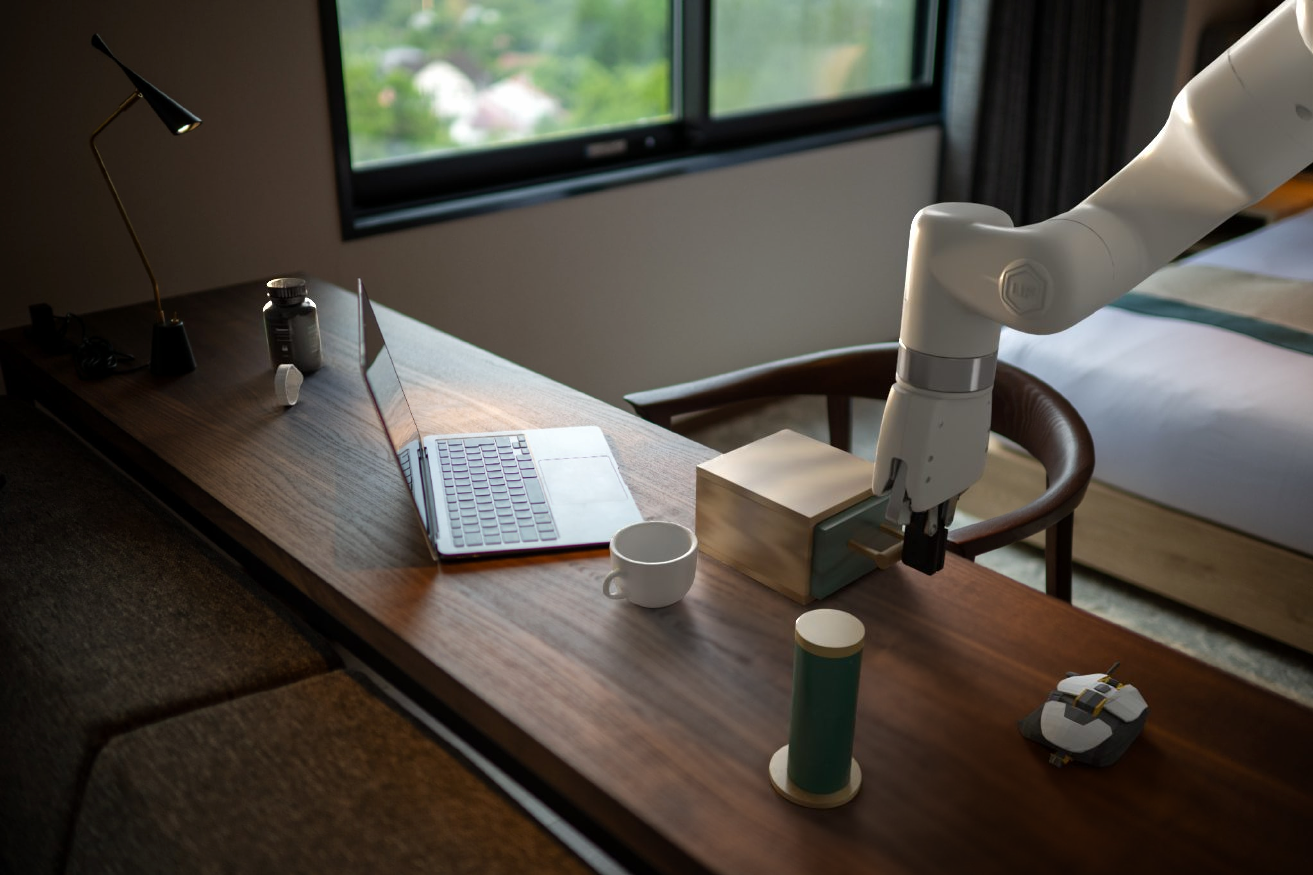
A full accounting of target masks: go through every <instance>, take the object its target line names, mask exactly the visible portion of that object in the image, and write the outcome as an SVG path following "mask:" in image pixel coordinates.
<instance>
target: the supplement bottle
mask: <svg viewBox="0 0 1313 875" xmlns="http://www.w3.org/2000/svg"><path fill="white" fill-rule="evenodd" d="M266 285H267V286H266V287H267V298H268V299H269V300H270V301H268V302H267V303H266V304H265V306H264V307H263V310H262V316H263V324H264V329H265V330H264V331H265V335H266V343H267V350H268V356H269V362H270V368H271V370H272V372H274V373H275V374H277V370H278V367H279V366H280V365H294V367H295V368H297V370H298V371H300V372H301V374H302V376H305V375H309V374H312V373H315V372H317V371H318V370H320V369H321V368H322V367H323V364H324V358H323V349H322V340H321V333H320V325H319V318H318V310H317V306H316V304H315V303H314V302H313V301H312V300H311V299H309V298H308V297H307V296H308V290H307V286H306V281H305V280H304V279H303V278H298V277H283V278H277V279H273V280H271V281H269V282H268V283H266Z"/></svg>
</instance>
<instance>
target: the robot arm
mask: <svg viewBox="0 0 1313 875" xmlns="http://www.w3.org/2000/svg"><path fill="white" fill-rule="evenodd" d="M1311 164H1313V0H1284V1H1283V2H1282V3H1281V4H1279V5H1278V6H1277V7H1275V9H1273V10H1272V11H1271V12H1270V13H1268V14H1267V15H1266V16H1265V17H1264V18H1263V19H1262V20H1260V22H1258V23H1257V24H1256V25H1255V26H1254V27H1252V28H1251V29H1250V30H1249V31H1248V32H1246V34H1244V35H1243V36H1242V37H1240V39H1238V40H1237V41H1236V42H1235V43H1233V44H1232V45H1231V46H1230V47H1229V48H1227V49H1226V50H1225V51H1224V52H1223V53H1221V54H1220V55H1219V56H1218V57H1217V58H1216V59H1215V60H1213V61H1212V62H1211V63H1210V64H1209V65H1207V66H1206V67H1205V68H1204V69H1202V70H1201V71H1200V72H1199V73H1197V75H1195V76H1194V77H1192V79H1191V80H1189V81H1188V82H1187V83H1186V84H1185V85H1184V86H1183V88H1182V89H1181V90H1180V92H1179V93H1178V94H1177V96H1176V97H1175V99H1174V100H1173V103H1172V106H1171V110H1170V113H1169V116H1168V119H1167V120H1166V123H1165V125H1164V126H1163V127H1162V129H1161V130H1160V131H1159V133H1158V134H1157V136H1155V138H1154V139H1153V140H1151V142H1150V143H1149V144H1148V145H1147V146H1146V147H1145V148H1144V149H1143V150H1142V151H1141V152H1140V153H1138V155H1137V156H1135V157H1134V158H1133V159H1132V160H1130V162H1129V163H1128V164H1126V165H1125V166H1124V167H1123V168H1122V169H1121V170H1119V171H1118V172H1117V173H1116V174H1115V175H1113V176H1112V177H1111V178H1110V179H1109V180H1107V181H1106V182H1105V183H1104V184H1103V185H1102V186H1100V187H1099V188H1098V189H1096V190H1095V191H1094V192H1093V193H1091V194H1090V195H1089V196H1088V197H1086V198H1085V199H1084V200H1082V201H1081V202H1080V203H1079V204H1078V205H1076V206H1075V207H1073V208H1071V209H1070V210H1069V211H1066V212H1064V213H1060V214H1058V215H1056V216H1053V217H1051V218H1048V219H1045V220H1044V221H1041V222H1038V223H1032V224H1027V225H1023V226H1017V227H1016V226H1014V222H1013V220H1012V218H1011V216H1010V215H1009V214H1007V212H1005V211H1004V210H1001V209H999V208H997V207H994V206H990V205H987V204H981V203H973V202H958V201H957V202H939V203H935V204H931V205H928V206H925V207H923V208H921V209H920V210H919V211H918V212H917V214H916V215H915V216H914V218H913V220H912V223H911V227H910V232H909V240H908V242H909V243H908V252H907V262H906V272H905V280H904V281H905V283H904V290H903V291H904V292H903V302H902V314H901V321H900V333H899V341H898V342H899V343H898V352H897V363H896V372H895V381H896V382H895V383H893V384H892V385H891V388H890V391H889V394H888V397H887V400H886V404H885V407H884V411H883V415H882V419H881V424H880V428H879V434H878V439H877V440H878V441H877V446H876V453H875V459H874V463H875V465H874V472H873V482H872V491H873V494H874V495H876V496H878V497H882V496H885V495H888V494H890V493H891V495H890V499H889V503H888V507H887V511H886V515H885V520H886V521H889V522H891V523H893V524H895V525H898V526H902V525H903V526H904V531H903V532H904V541H903V550H902V560H901V562H902V564H903V565H905V566H907V567H909V568H912V569H913V570H915V571H918V572H921V573H922V574H923V575H926V576H929V577H932V576H934V575H935V574H937V572H940V571H941V570H943V569H944V568H945V562H946V561H945V560H946V552H947V544H948V538H949V527H951V525H952V524H953V522H954V519H955V514H956V510H957V505H958V502H959V500H960V497H962V495H963V494H964V493H966V492H967V491H968V490H969V489H970V488H971V487H973V486H974V485H975V484H977V483H978V482H979V481H980V480H981V478H982V477H983V475H984V471H985V468H986V463H987V458H988V453H989V452H988V451H989V443H990V437H991V436H990V435H991V424H992V406H993V405H992V404H993V389H994V385H995V378H996V370H997V364H998V356H999V350H1000V341H1001V340H1000V339H1001V335H1002V334H1001V333H1002V327H1003V326H1004V327H1006V328H1009V329H1011V330H1014V331H1017V332H1020V333H1024V334H1028V335H1033V336H1051V335H1055V334H1059V333H1062V332H1064V331H1066V330H1069V329H1071V328H1072V327H1074V326H1076V325H1078V324H1079V323H1081V322H1082V321H1084V320H1085V319H1087V318H1089V317H1091V316H1092V315H1094V314H1095V313H1096V312H1098V311H1100V310H1101V309H1103V308H1105V307H1106V306H1109V305H1110V304H1113V303H1114V302H1116V301H1117V300H1119V299H1120V298H1122V297H1123V296H1125V295H1126V294H1128V293H1129V292H1131V291H1132V290H1133V289H1134V288H1137V287H1138V286H1139V285H1140V284H1141V283H1144V281H1146V280H1147V279H1149V278H1150V277H1151V276H1152V275H1154V274H1155V273H1157V272H1158V271H1159V270H1160V269H1162V268H1163V267H1165V266H1166V265H1167V264H1168V263H1170V262H1172V261H1173V260H1174V259H1175V258H1177V257H1179V256H1180V255H1181V254H1183V253H1184V252H1186V250H1188V249H1189V248H1191V247H1192V246H1193V245H1194V244H1196V243H1197V242H1199V241H1201V239H1203V238H1205V237H1206V236H1207V235H1209V234H1210V233H1211V232H1213V231H1214V230H1215V229H1216V228H1218V227H1219V226H1220V225H1222V224H1223V223H1225V222H1226V221H1227V220H1229V219H1230V218H1232V217H1233V216H1235V215H1236V214H1238V213H1239V212H1240V211H1243V210H1245V209H1246V208H1249V207H1251V206H1253V205H1255V204H1257V203H1259V202H1261V201H1262V200H1264V199H1265V198H1266V197H1267V196H1269V195H1270V194H1272V193H1273V192H1275V190H1277V189H1279V188H1280V187H1281V186H1283V185H1284V184H1285V183H1287V182H1288V181H1289V180H1291V179H1293V178H1294V177H1295V176H1296V175H1298V174H1299V173H1301V171H1303V170H1305V169H1306V168H1307V167H1308V166H1310V165H1311Z"/></svg>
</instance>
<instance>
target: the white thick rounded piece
mask: <svg viewBox="0 0 1313 875" xmlns="http://www.w3.org/2000/svg"><path fill="white" fill-rule="evenodd" d="M303 381H304V375H302V374H301V372H300V371H298V370H297V368H295V367H294V365H280V366H279V367H278V370H277V373H275V377H274V390H275V391H274V394H275V396H276V400H277V403H278V405H281V406H294V405H295V404H296V403H297V401H298V397H299V390H300V389H301V385H302V384H303Z"/></svg>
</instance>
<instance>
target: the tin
mask: <svg viewBox="0 0 1313 875" xmlns="http://www.w3.org/2000/svg"><path fill="white" fill-rule="evenodd" d="M794 638H795V639H794V652H793V653H794V654H793V670H792V671H793V672H792V682H791V683H792V686H791V699H790V712H789V713H790V715H789V729H788V744H787V745H788V757H787V774H788V777H789V778H790V780H791V781H792V782H793V784H795V785H796V786H797V787H799V788H800V789H802V790H804V791H807V792H810V793H814V794H832V793H835V792H838V791H840V790H842V789H843V788H844V787H846V785H847V784H848V783H849V781H850V776H851V766H852V757H853V756H854V754H853V753H854V744H855V733H856V724H857V723H856V721H857V715H858V714H857V713H858V702H859V692H860V682H861V672H862V662H863V651H864V645H865V640H866V628H865V626H864V624H863V622H862V620H860V619H859V618H858V617H856V616H855V615H852V614H851V613H848V612H847V611H843V610H839V609H834V608H833V609H832V608H818V609H813V610H810V611H807V612H804V613H803V614H801V615H800V616H799V617H798V618H797V620H796V621H795V627H794Z"/></svg>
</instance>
